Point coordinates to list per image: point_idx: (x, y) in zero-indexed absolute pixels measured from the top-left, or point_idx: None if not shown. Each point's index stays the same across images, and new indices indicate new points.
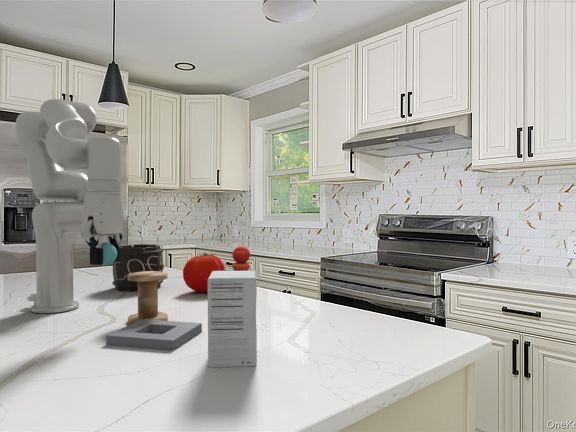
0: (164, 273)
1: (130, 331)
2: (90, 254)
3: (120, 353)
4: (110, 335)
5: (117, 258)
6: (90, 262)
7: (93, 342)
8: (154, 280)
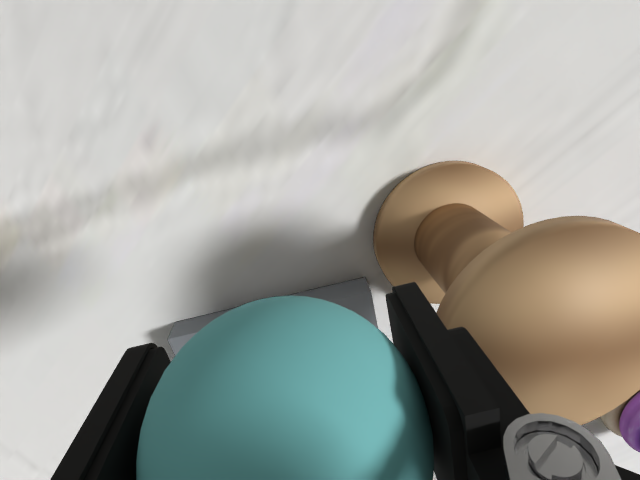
0: (596, 406)
1: None
2: (85, 434)
3: None
4: (174, 349)
5: None
6: (126, 360)
7: (166, 273)
8: None
